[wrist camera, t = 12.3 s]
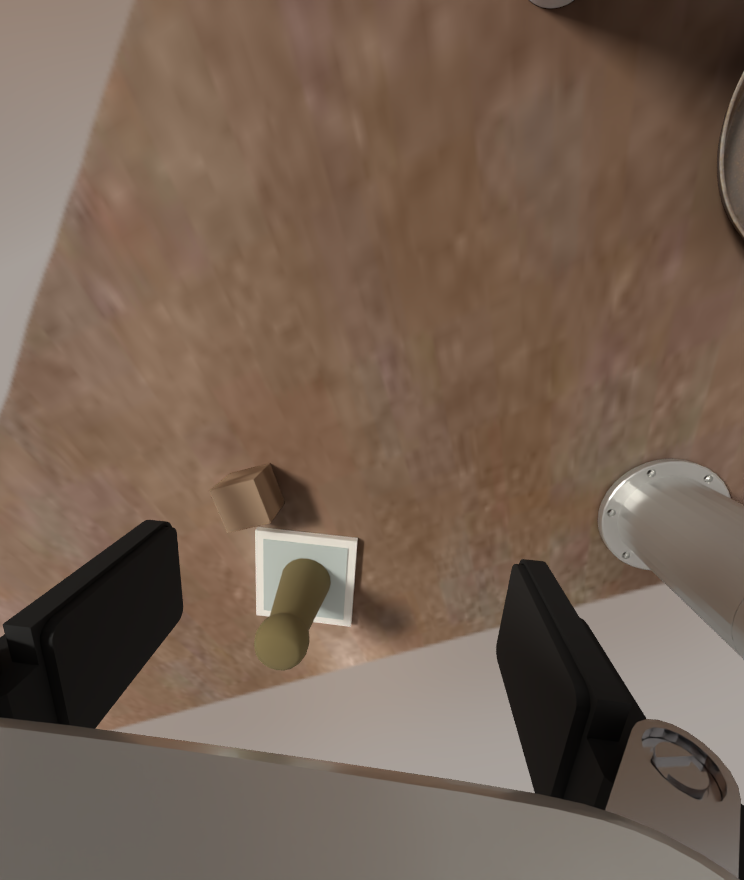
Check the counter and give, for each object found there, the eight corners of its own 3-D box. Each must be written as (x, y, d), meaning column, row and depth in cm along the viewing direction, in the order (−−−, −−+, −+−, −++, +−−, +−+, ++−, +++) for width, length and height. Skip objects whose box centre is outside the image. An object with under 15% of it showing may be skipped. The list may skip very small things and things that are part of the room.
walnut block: (270, 462, 43) (253, 479, 38) (285, 502, 44) (270, 523, 39) (230, 473, 43) (208, 490, 39) (246, 511, 45) (227, 533, 40)
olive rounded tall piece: (335, 598, 46) (315, 679, 35) (288, 603, 46) (254, 684, 36) (324, 555, 44) (299, 626, 34) (275, 561, 45) (236, 632, 34)
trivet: (357, 537, 44) (356, 542, 43) (351, 622, 48) (350, 627, 47) (257, 526, 45) (254, 530, 44) (258, 610, 48) (255, 615, 47)
